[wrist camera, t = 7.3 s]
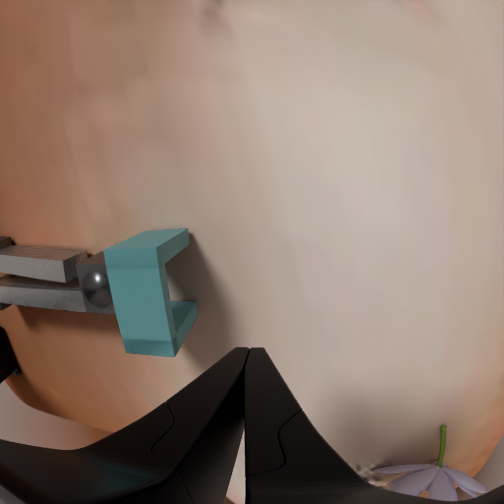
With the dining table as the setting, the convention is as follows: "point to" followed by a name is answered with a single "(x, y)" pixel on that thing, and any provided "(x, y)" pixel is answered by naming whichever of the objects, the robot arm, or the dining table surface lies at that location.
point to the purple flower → (432, 478)
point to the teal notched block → (148, 293)
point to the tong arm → (40, 261)
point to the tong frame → (62, 290)
